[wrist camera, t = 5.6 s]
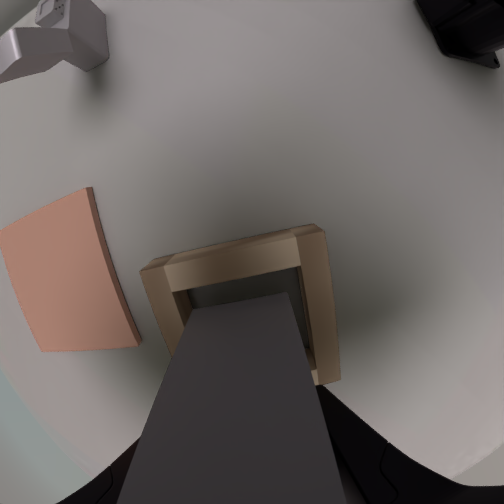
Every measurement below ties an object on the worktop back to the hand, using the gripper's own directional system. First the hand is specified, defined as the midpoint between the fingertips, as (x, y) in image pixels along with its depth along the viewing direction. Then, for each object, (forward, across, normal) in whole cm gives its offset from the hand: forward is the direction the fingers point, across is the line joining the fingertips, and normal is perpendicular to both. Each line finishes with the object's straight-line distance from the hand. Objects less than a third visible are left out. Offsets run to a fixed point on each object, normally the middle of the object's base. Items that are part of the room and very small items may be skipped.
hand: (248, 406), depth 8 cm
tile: (+6, +11, -4) cm, 13 cm away
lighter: (+7, +5, -16) cm, 18 cm away
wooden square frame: (+6, 0, 0) cm, 6 cm away
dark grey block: (+4, 0, 0) cm, 4 cm away
